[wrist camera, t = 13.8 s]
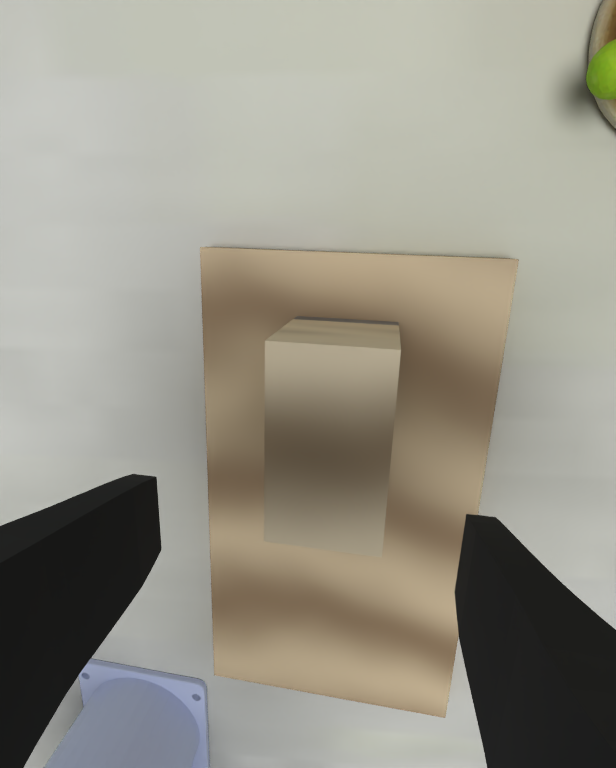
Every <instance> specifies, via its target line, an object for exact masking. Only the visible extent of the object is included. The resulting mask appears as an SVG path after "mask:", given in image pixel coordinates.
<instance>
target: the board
mask: <svg viewBox="0 0 616 768" xmlns="http://www.w3.org/2000/svg"><path fill="white" fill-rule="evenodd" d="M200 258H201V288H202V318H203V348H204V379H205V409H206V439H207V469H208V499H209V529H210V559H211V589H212V619H213V649H214V675H216V676H221V677H227V678H232V679H238V680H243V681H248V682H254V683H259V684H265V685H270V686H276V687H281V688H286V689H292V690H297V691H303V692H308V693H313V694H319V695H324V696H330V697H335V698H340V699H346V700H351V701H357V702H362V703H368V704H373V705H378V706H384V707H389V708H395V709H400V710H405V711H411V712H416V713H422V714H427V715H432V716H438V717H443V718H445V716H446V710H447V703H448V697H449V691H450V685H451V679H452V672H453V666H454V660H455V654H456V647H457V641H458V635H459V633H458V624H457V614H456V603H455V585H456V578H457V572H458V565H459V559H460V552H461V546H462V539H463V532H464V526H465V519H466V514H472V515H478V510H479V504H480V498H481V491H482V485H483V479H484V473H485V466H486V460H487V454H488V448H489V442H490V435H491V429H492V423H493V417H494V410H495V404H496V398H497V392H498V385H499V379H500V373H501V367H502V360H503V354H504V348H505V342H506V335H507V329H508V323H509V317H510V311H511V304H512V298H513V292H514V286H515V279H516V273H517V267H518V261H519V260H518V259H510V258H484V257H458V256H432V255H405V254H379V253H353V252H327V251H301V250H275V249H248V248H222V247H200ZM296 316H305V317H322V318H339V319H356V320H373V321H390V322H399V331H400V343H401V356H400V367H399V378H398V388H397V399H396V410H395V421H394V431H393V442H392V453H391V464H390V475H389V485H388V496H387V507H386V518H385V528H384V539H383V550H382V557H374V556H367V555H360V554H352V553H345V552H337V551H330V550H323V549H315V548H308V547H301V546H293V545H286V544H279V543H271V542H264V431H265V340H266V339H268V338H269V337H270V336H272V335H273V334H274V333H276V332H277V331H278V330H280V329H281V328H282V327H283V326H285V325H286V324H287V323H289V322H290V321H291V320H293V319H294V318H295V317H296Z"/></svg>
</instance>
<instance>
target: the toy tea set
mask: <svg viewBox="0 0 616 768" xmlns="http://www.w3.org/2000/svg"><path fill="white" fill-rule="evenodd" d="M586 82H587V86H588V88H589V90H590V92H591V93H592V94H593V95H594V97H595V100H596V102H597V104H598V107H599V108H600V110H601V112H602V113H603V115H604V116H605V117H606V119H607V120H608V121H609V122H610V123H611V124H612V126H613V127H615V128H616V0H603V2H602V4H601V6H600V8H599V11H598V14H597V16H596V19H595V22H594V25H593V30H592V35H591V40H590V46H589V66H588V70H587V74H586Z"/></svg>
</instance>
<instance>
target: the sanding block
mask: <svg viewBox="0 0 616 768" xmlns="http://www.w3.org/2000/svg"><path fill="white" fill-rule="evenodd" d="M400 356H401V343H400V331H399V322H390V321H373V320H356V319H339V318H322V317H305V316H296V317H295V318H294V319H293V320H291V321H290V322H289V323H287V324H286V325H285V326H283V327H282V328H281V329H280V330H278V331H277V332H276V333H274V334H273V335H272V336H270V337H269V338H268V339H266V340H265V431H264V542H271V543H279V544H286V545H293V546H301V547H308V548H315V549H323V550H330V551H337V552H345V553H352V554H360V555H367V556H374V557H382V550H383V539H384V528H385V518H386V507H387V496H388V485H389V475H390V464H391V453H392V442H393V431H394V421H395V410H396V399H397V388H398V378H399V367H400Z"/></svg>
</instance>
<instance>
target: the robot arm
mask: <svg viewBox="0 0 616 768" xmlns="http://www.w3.org/2000/svg"><path fill="white" fill-rule="evenodd" d="M160 551H161V536H160V522H159V508H158V493H157V479H156V477H153V476H145V475H136V474H132V475H128V476H125V477H122V478H119V479H116V480H114V481H111V482H109V483H106V484H104V485H101V486H99V487H96V488H94V489H91V490H89V491H87V492H84V493H82V494H79V495H77V496H75V497H72V498H70V499H67V500H65V501H63V502H60V503H58V504H56V505H53V506H51V507H48V508H46V509H43V510H41V511H38V512H35V513H33V514H30V515H28V516H25V517H22V518H20V519H17V520H15V521H12V522H9V523H7V524H4V525H2V526H0V768H23V767H24V765H25V764H26V762H27V760H28V758H29V757H30V755H31V753H32V751H33V749H34V748H35V746H36V744H37V742H38V741H39V739H40V737H41V736H42V734H43V732H44V730H45V729H46V727H47V725H48V724H49V722H50V720H51V719H52V717H53V715H54V714H55V712H56V710H57V708H58V707H59V705H60V703H61V702H62V700H63V698H64V697H65V695H66V693H67V692H68V690H69V689H70V687H71V686H72V684H73V683H74V681H75V680H76V678H77V677H78V675H79V680H80V687H81V694H82V701H83V709H82V711H81V712H80V714H79V715H78V717H77V718H76V720H75V721H74V723H73V724H72V726H71V727H70V729H69V730H68V732H67V733H66V735H65V736H64V738H63V739H62V741H61V742H60V744H59V745H58V747H57V748H56V750H55V752H54V753H53V755H52V756H51V758H50V759H49V761H48V762H47V764H46V765H45V767H44V768H210V759H209V734H208V709H207V686H206V684H205V682H204V681H202V680H200V679H197V678H192V677H186V676H181V675H176V674H170V673H165V672H160V671H154V670H149V669H144V668H138V667H133V666H127V665H122V664H117V663H111V662H106V661H101V660H95V659H91V657H92V656H93V654H94V653H95V652H96V650H97V649H98V648H99V646H100V645H101V643H102V642H103V641H104V639H105V638H106V636H107V635H108V634H109V632H110V631H111V630H112V628H113V627H114V625H115V624H116V623H117V621H118V620H119V618H120V617H121V616H122V614H123V613H124V611H125V610H126V609H127V607H128V606H129V604H130V603H131V602H132V600H133V599H134V597H135V596H136V594H137V593H138V592H139V590H140V589H141V587H142V585H143V584H144V582H145V580H146V578H147V576H148V575H149V573H150V571H151V569H152V567H153V565H154V563H155V561H156V559H157V557H158V555H159V553H160ZM455 603H456V614H457V624H458V633H459V640H460V645H461V649H462V654H463V658H464V663H465V667H466V672H467V677H468V681H469V685H470V690H471V694H472V699H473V703H474V708H475V712H476V716H477V721H478V725H479V730H480V734H481V739H482V743H483V748H484V752H485V758H486V763H487V768H616V630H615V629H614V628H613V627H612V626H610V625H609V624H608V623H607V622H605V621H604V620H603V619H602V618H601V617H599V616H598V615H597V614H596V613H595V612H594V611H593V610H591V609H590V608H589V607H588V606H587V605H586V604H585V603H583V602H582V601H581V600H580V599H579V598H578V597H577V596H575V595H574V594H573V593H572V592H571V591H570V590H569V589H568V588H567V587H566V586H565V585H563V584H562V583H561V582H560V581H559V580H558V579H557V578H556V577H555V576H554V575H553V574H552V573H551V572H550V571H549V570H548V569H547V568H546V567H545V566H544V565H543V564H542V563H541V562H540V561H539V560H538V559H537V558H536V557H535V556H534V555H533V554H532V553H531V552H530V551H529V550H528V549H527V548H526V547H525V546H524V545H523V544H522V543H521V542H520V541H519V540H518V539H517V538H516V537H515V536H514V535H513V534H512V533H511V532H510V531H509V530H508V529H507V528H506V527H505V526H504V525H503V524H502V523H501V522H500V521H499V520H498V519H497V518H496V517H488V516H480V515H472V514H466V519H465V526H464V532H463V539H462V546H461V552H460V559H459V565H458V572H457V578H456V585H455ZM197 694H198V695H197Z"/></svg>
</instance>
